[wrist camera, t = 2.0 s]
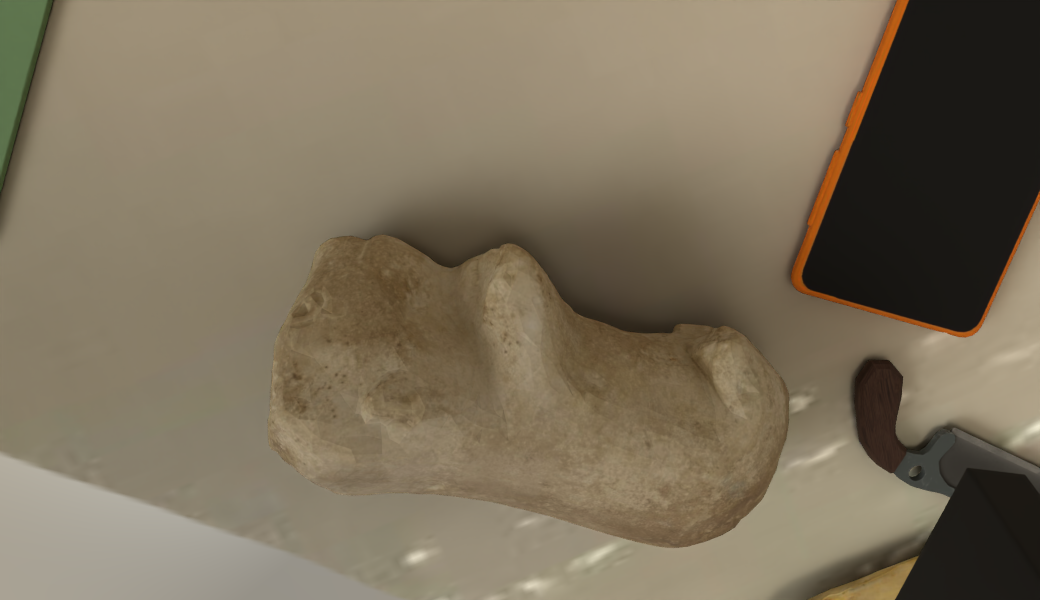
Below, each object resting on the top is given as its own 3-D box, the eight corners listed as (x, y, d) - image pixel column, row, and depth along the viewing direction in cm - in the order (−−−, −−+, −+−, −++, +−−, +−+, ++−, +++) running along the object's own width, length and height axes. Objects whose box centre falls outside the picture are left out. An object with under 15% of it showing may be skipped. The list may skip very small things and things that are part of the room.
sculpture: (361, 114, 29) (225, 391, 23) (850, 314, 31) (827, 611, 25) (329, 254, 36) (221, 490, 31) (726, 408, 38) (688, 655, 33)
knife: (815, 437, 36) (821, 445, 35) (870, 350, 35) (877, 356, 34) (1104, 570, 38) (1115, 580, 37) (1164, 491, 37) (1176, 500, 36)
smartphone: (1178, -130, 30) (1198, -133, 29) (965, 335, 35) (976, 343, 34) (968, -204, 29) (982, -211, 28) (778, 283, 34) (785, 289, 33)
